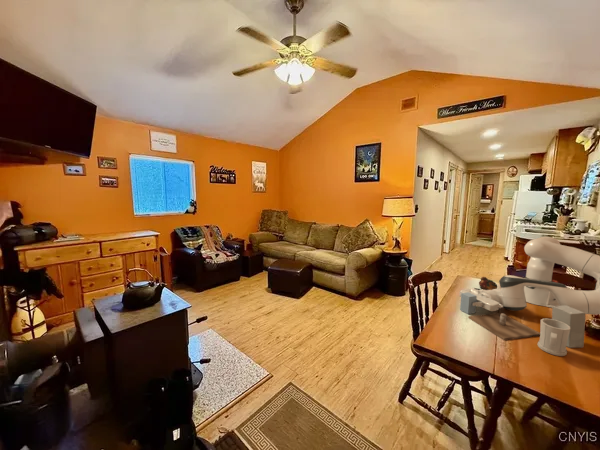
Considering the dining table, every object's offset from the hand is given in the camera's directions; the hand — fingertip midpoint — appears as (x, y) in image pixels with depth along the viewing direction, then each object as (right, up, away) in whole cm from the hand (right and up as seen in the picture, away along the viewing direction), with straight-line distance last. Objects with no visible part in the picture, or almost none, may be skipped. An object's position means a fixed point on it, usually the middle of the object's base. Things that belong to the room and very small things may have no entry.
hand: (467, 301), depth 138 cm
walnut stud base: (+8, -8, -14) cm, 18 cm away
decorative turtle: (+32, -2, +28) cm, 43 cm away
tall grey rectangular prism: (+1, -6, +1) cm, 6 cm away
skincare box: (+26, -10, -27) cm, 39 cm away
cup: (+14, -11, -33) cm, 38 cm away
